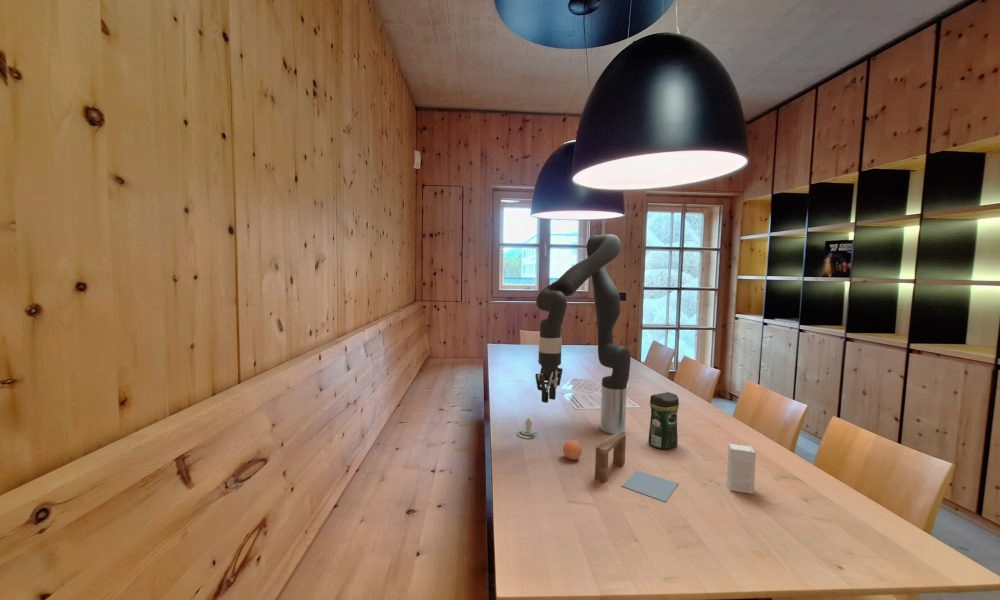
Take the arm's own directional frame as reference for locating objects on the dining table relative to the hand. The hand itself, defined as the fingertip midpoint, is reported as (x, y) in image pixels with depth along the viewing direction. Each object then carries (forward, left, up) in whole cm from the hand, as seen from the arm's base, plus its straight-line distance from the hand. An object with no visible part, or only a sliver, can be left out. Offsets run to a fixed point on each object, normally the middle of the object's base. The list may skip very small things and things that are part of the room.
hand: (548, 400), depth 134 cm
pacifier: (-5, -13, -18) cm, 22 cm away
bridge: (0, +22, -17) cm, 28 cm away
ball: (0, +9, -14) cm, 17 cm away
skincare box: (-15, +54, -17) cm, 59 cm away
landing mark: (0, +34, -17) cm, 39 cm away
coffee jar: (-31, +28, -17) cm, 46 cm away
